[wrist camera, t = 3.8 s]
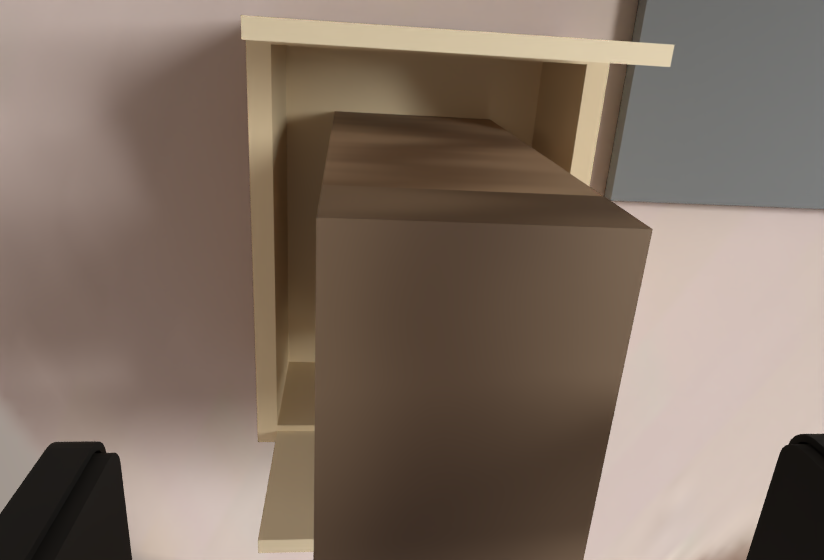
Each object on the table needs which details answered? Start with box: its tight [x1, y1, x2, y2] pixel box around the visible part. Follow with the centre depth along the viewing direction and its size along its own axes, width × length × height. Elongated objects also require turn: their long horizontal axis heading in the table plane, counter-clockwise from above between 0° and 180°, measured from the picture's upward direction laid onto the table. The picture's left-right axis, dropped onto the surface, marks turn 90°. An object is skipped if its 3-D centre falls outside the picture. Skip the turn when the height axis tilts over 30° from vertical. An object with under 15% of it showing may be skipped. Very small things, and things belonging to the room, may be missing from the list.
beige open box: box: [241, 15, 674, 553], centre depth 18 cm, size 9×12×9 cm
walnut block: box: [314, 111, 653, 560], centre depth 16 cm, size 5×7×12 cm
